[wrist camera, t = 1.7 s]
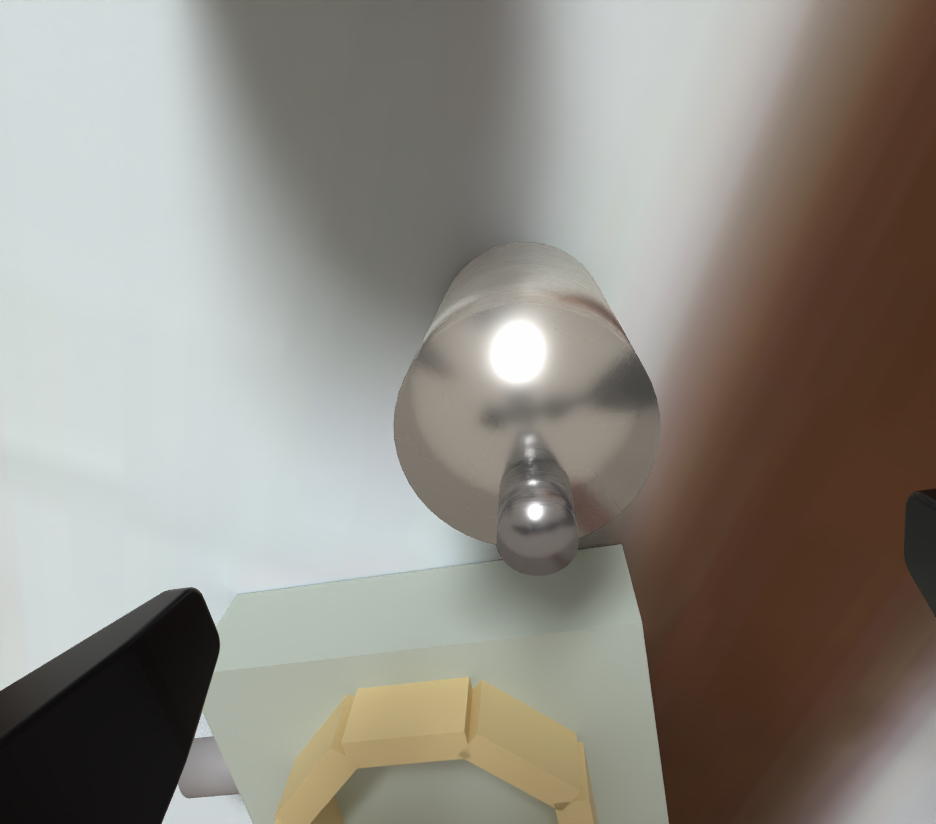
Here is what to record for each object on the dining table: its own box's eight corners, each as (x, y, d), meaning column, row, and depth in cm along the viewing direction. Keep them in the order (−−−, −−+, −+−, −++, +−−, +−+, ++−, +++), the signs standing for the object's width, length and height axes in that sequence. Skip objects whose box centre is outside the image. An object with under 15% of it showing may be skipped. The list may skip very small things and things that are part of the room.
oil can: (595, 226, 19) (666, 303, 10) (616, 390, 20) (693, 586, 11) (423, 260, 19) (339, 361, 10) (458, 416, 21) (413, 619, 12)
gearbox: (621, 544, 22) (655, 675, 17) (656, 796, 27) (693, 967, 21) (162, 604, 25) (58, 737, 19) (261, 827, 29) (200, 989, 24)
